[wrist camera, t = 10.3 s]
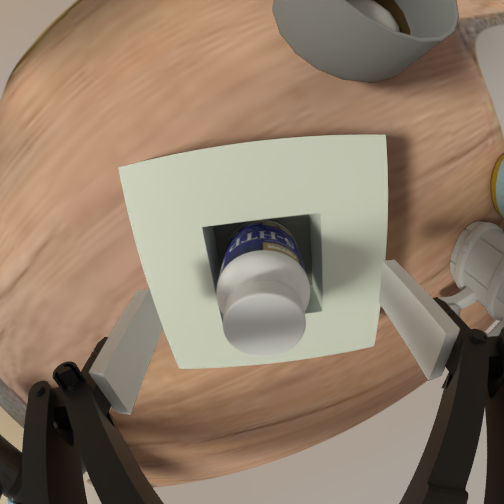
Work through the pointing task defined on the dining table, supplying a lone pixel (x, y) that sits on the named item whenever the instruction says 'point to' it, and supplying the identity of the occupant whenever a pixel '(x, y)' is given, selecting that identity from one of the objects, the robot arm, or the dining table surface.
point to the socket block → (273, 209)
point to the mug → (479, 271)
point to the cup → (364, 33)
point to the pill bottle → (263, 289)
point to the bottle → (498, 186)
